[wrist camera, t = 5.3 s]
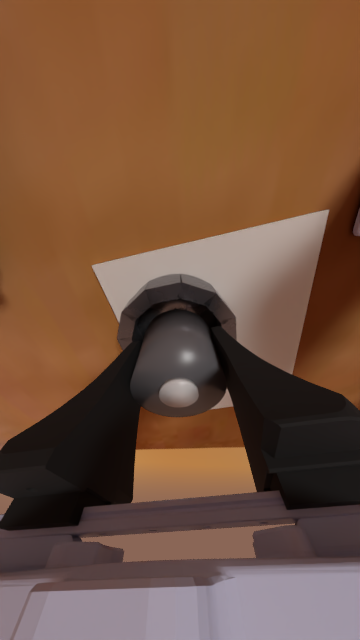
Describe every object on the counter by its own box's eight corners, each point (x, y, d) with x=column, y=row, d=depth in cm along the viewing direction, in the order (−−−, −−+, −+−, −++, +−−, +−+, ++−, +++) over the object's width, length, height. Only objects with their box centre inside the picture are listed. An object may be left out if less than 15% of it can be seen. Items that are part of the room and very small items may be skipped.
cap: (219, 316, 11) (245, 368, 7) (200, 365, 14) (210, 426, 9) (149, 303, 10) (132, 351, 6) (142, 357, 13) (125, 417, 9)
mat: (323, 210, 10) (329, 209, 10) (284, 396, 20) (286, 399, 20) (94, 264, 11) (91, 265, 11) (164, 412, 21) (163, 415, 21)
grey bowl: (222, 262, 11) (234, 270, 9) (228, 350, 15) (237, 371, 13) (111, 286, 12) (96, 300, 10) (146, 364, 16) (141, 386, 14)
